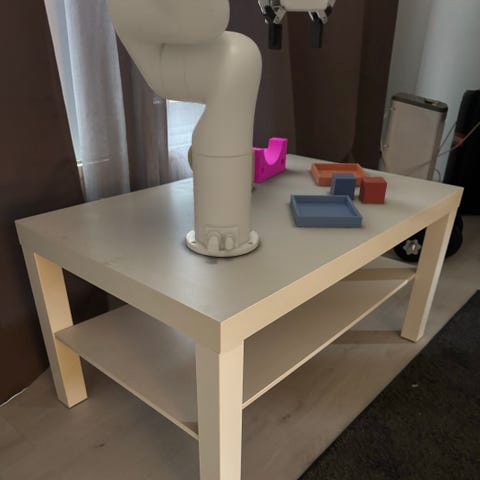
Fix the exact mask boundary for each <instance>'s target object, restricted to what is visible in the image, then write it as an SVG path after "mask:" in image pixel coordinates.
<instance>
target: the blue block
mask: <svg viewBox="0 0 480 480" xmlns="http://www.w3.org/2000/svg"><path fill="white" fill-rule="evenodd" d="M356 180H357V179H356V178H355V176H354V175H353V174H352V173H332V180H331V186H330V188H329V195H342V196H349V197H350V199H351V200H354V199H355V194H356V193H355V192H356V187H357V186H356Z"/></svg>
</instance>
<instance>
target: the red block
mask: <svg viewBox="0 0 480 480" xmlns="http://www.w3.org/2000/svg"><path fill="white" fill-rule="evenodd" d="M387 187H388V181H386V180H385V179H384V177H382V176H369V177H362V178H361V184H360V186H359V192H358V198H359V200H360V201H361V203H362V204H385V199H386V194H387V193H386V192H387V189H388V188H387Z"/></svg>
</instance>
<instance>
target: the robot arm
mask: <svg viewBox="0 0 480 480" xmlns="http://www.w3.org/2000/svg"><path fill="white" fill-rule="evenodd" d="M257 1H258V4H259V7H260V13H261V14H262V16H263V17H264V19H265V23H266V24H268V28H267V48H268V50H274V51H281V49H282V48H283V47H282V46H283V23H281V21H282V19H283V18H284V17H285V15H286V13H287V12H308V15H309V16H310V18H311V20H312V22H310V23H309V31H308V45H307V46H308V47H309V48H313V49H321V48H322V47H323V38H324V37H323V35H324V27H325V26H324V25H325V24H326V23H327V22H328V18H329V16H330V15H331V14H332V12H333V7H334V5H335V3H336V0H257ZM105 2H106V8H107V12H108V13H107V14H108V16H109V18H110V22H111V24H112V26H113V29H114V31H115V33H116V34H117V37H118V38H119V41H120V42H121V43H122V45H123V46H124V49H125V50H126V51H127V53H128V55H129V56H130V58H131V59H132V61H133V63H134V64H135V66H136V67H137V69H138V70H139V72H140V74H141V75H142V77H143V78H144V81H145V82H146V83H147V85H148V86H149V87H150V89H151V90H152V91H153V92H154V94H156V95H157V96H158V97H160V98H161V99H164V100H168V101H173V102H179V103H181V102H182V103H192V104H198V105H204V109H203V111H202V112H201V114H200V115H199V117H198V118H197V119H198V120H197V121H196V123H195V125H194V127H193V129H192V133H191V145H192V164H193V171H192V189H193V190H192V192H193V193H192V194H193V218H194V220H193V221H194V228H193V229H191V230H189V232H187V233H186V236H185V244H186V246H187V247H188V248H189V250H191V251H192V252H195V253H197V254H200V255H204V256H209V257H218V258H221V257H222V258H227V257H228V258H229V257H236V256H242V255H246V254H248V253H250V252H252V251H254V250H255V249H256V248H257V247H258V246H259V244H260V243H259V242H260V237H259V234H258V233H257V232H256V231H254V230H253V229H252V228H251V217H252V216H251V214H252V213H251V212H252V190H251V184H252V148H253V147H254V145H253V143H254V141H253V140H254V124H255V112H256V106H257V100H258V93H259V90H260V84H261V79H262V72H263V71H262V70H263V58H262V54H261V51H260V49H259V47H258V44H256V42H255V41H254V40H253V39H252V38H250V37H249V36H247V35H246V34H243V33H240V32H236V31H228V30H227V27H228V26H229V23H230V15H231V14H230V11H231V10H230V1H229V0H105Z"/></svg>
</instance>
